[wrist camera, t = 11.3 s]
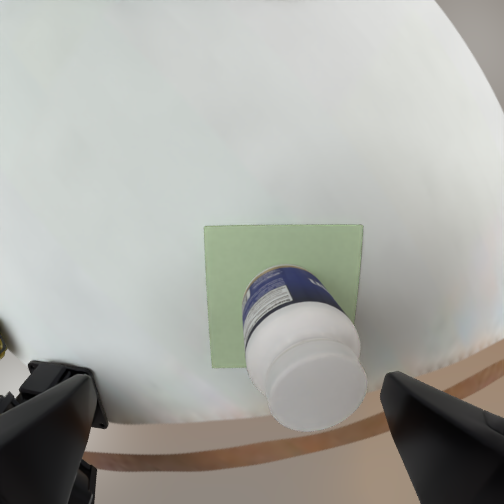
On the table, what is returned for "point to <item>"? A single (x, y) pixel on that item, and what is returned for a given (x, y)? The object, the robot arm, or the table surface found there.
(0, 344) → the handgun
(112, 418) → the table surface
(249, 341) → the pill bottle
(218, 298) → the mat
